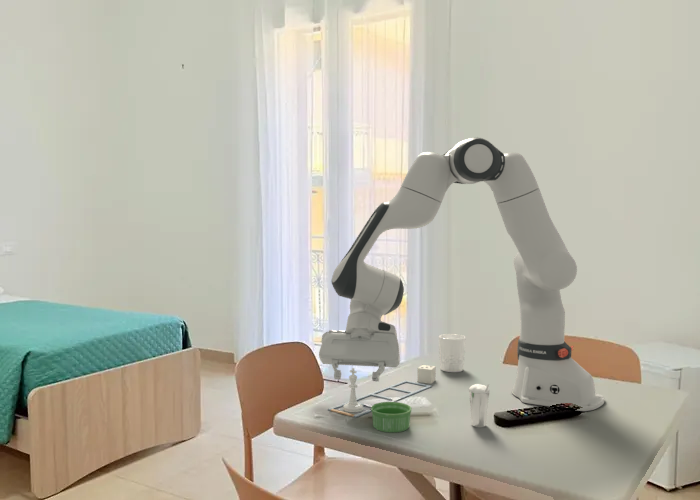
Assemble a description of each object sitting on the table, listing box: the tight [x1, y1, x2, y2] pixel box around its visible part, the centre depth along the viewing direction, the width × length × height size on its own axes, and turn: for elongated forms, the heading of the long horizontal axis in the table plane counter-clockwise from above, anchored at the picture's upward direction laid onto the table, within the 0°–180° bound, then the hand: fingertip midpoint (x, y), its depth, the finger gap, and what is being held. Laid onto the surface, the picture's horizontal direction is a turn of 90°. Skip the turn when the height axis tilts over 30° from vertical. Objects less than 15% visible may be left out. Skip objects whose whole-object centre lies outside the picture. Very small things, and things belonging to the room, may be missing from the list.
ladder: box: [327, 379, 433, 418], centre depth 166 cm, size 9×33×1 cm, turn 141°
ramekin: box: [370, 401, 412, 433], centre depth 145 cm, size 9×9×4 cm
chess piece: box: [342, 367, 364, 413], centre depth 157 cm, size 5×5×10 cm
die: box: [416, 364, 437, 385], centre depth 182 cm, size 4×4×4 cm
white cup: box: [438, 333, 466, 373], centre depth 194 cm, size 8×8×10 cm
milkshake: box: [468, 383, 490, 428], centre depth 145 cm, size 5×5×10 cm
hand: (356, 379), depth 159 cm, fingers open, 8 cm apart
